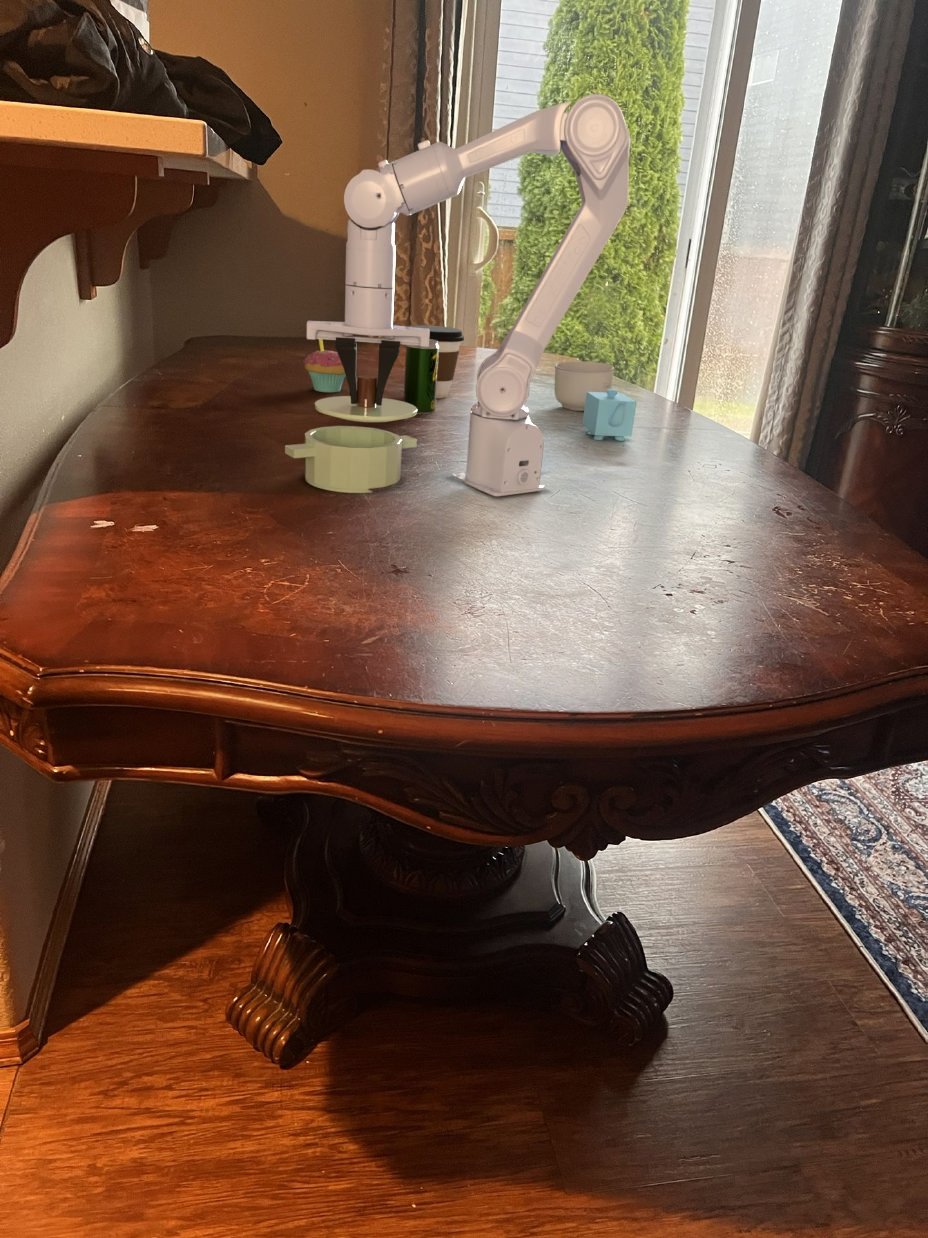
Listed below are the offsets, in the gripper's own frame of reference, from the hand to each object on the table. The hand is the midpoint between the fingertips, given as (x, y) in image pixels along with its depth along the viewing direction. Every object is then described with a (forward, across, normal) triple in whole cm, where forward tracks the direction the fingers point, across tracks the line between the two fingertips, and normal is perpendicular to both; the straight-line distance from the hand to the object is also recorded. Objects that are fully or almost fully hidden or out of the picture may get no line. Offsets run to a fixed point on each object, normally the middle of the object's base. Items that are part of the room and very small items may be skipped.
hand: (366, 403), depth 110 cm
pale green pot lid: (+1, 0, 0) cm, 1 cm away
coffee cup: (+9, -12, -58) cm, 60 cm away
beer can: (+9, -9, -40) cm, 42 cm away
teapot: (+9, -39, -29) cm, 49 cm away
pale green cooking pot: (+9, +2, +3) cm, 10 cm away
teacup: (+9, -40, -55) cm, 68 cm away
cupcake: (+9, +7, -57) cm, 58 cm away
